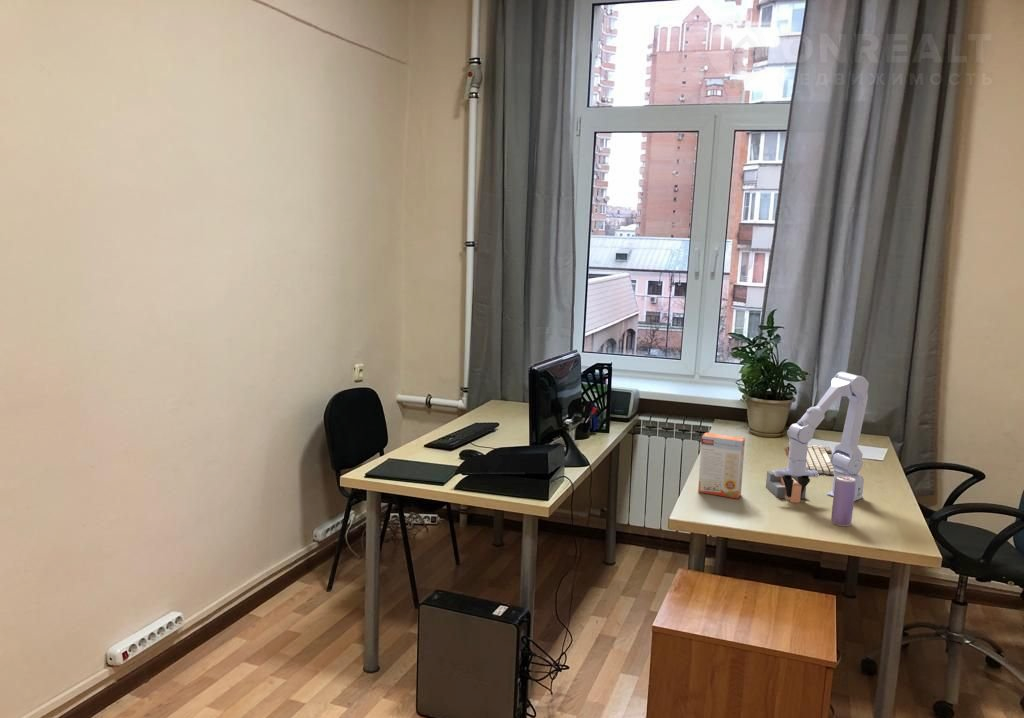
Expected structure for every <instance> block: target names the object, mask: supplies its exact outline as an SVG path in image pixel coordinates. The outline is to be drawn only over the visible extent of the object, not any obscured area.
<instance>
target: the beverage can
mask: <svg viewBox="0 0 1024 718" xmlns="http://www.w3.org/2000/svg"><path fill="white" fill-rule="evenodd" d="M855 485H856V482H855V479H854V478H853V477H850V476H843V475H840V476H836V479H835V487H834V496H832V498H833V499H832V507H831V518H830V520H831V522H832V524H835V525H837V526H840V527H848V526H850V525H851V524H852V521H853V511H854V502H855V501H854V494H855Z"/></svg>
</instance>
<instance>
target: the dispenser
mask: <svg viewBox="0 0 1024 718" xmlns="http://www.w3.org/2000/svg"><path fill="white" fill-rule="evenodd" d="M791 477H792V478H793V479H794V480H796V481H797V482H798V476H791ZM780 482H781V476H779V477H776V476H775V475H774V470H767V471H766V481H765V488H766V489H768V490H769V492H770V493H772V495H773V496H775V498H782V499H783V498H785V486H782V485H781V484H780ZM806 491H807V486H806V487H805V489H804V491H803V494H802V496H801V497H800V499H805V498H806Z"/></svg>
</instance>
